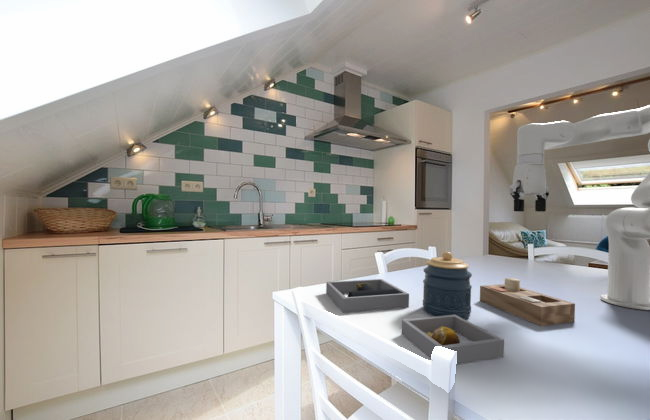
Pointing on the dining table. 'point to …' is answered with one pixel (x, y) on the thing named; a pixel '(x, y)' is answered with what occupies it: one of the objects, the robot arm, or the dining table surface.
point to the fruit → (444, 336)
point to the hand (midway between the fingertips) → (529, 211)
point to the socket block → (529, 305)
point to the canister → (447, 287)
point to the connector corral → (365, 302)
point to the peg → (512, 284)
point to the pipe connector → (369, 291)
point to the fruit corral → (477, 350)
